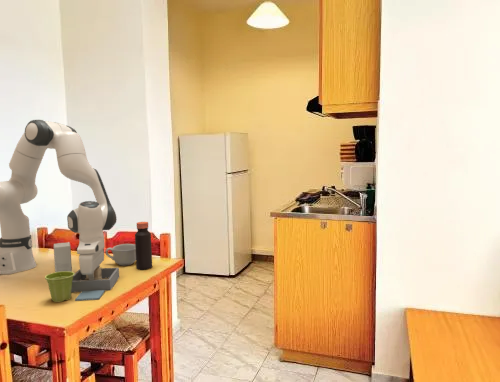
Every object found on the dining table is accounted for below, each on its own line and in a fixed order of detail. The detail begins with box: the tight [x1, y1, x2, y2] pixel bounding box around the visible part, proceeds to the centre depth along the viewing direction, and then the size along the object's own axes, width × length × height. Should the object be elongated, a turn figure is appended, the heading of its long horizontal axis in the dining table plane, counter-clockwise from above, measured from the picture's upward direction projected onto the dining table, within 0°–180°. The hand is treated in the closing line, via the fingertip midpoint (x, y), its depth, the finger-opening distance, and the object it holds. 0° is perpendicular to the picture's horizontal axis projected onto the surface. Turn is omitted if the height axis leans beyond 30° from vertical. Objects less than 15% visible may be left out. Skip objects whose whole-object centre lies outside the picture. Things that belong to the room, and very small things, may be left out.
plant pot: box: [44, 271, 76, 303], centre depth 147 cm, size 9×9×9 cm
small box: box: [53, 241, 73, 273], centre depth 174 cm, size 8×6×13 cm
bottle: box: [134, 221, 153, 271], centre depth 182 cm, size 7×7×20 cm
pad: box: [74, 290, 105, 302], centre depth 149 cm, size 8×8×1 cm
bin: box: [71, 267, 120, 293], centre depth 162 cm, size 16×16×4 cm
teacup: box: [104, 243, 136, 267], centre depth 190 cm, size 14×11×8 cm
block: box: [85, 267, 103, 280], centre depth 162 cm, size 4×4×6 cm
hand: (94, 279), depth 162 cm, fingers closed on block, 4 cm apart
